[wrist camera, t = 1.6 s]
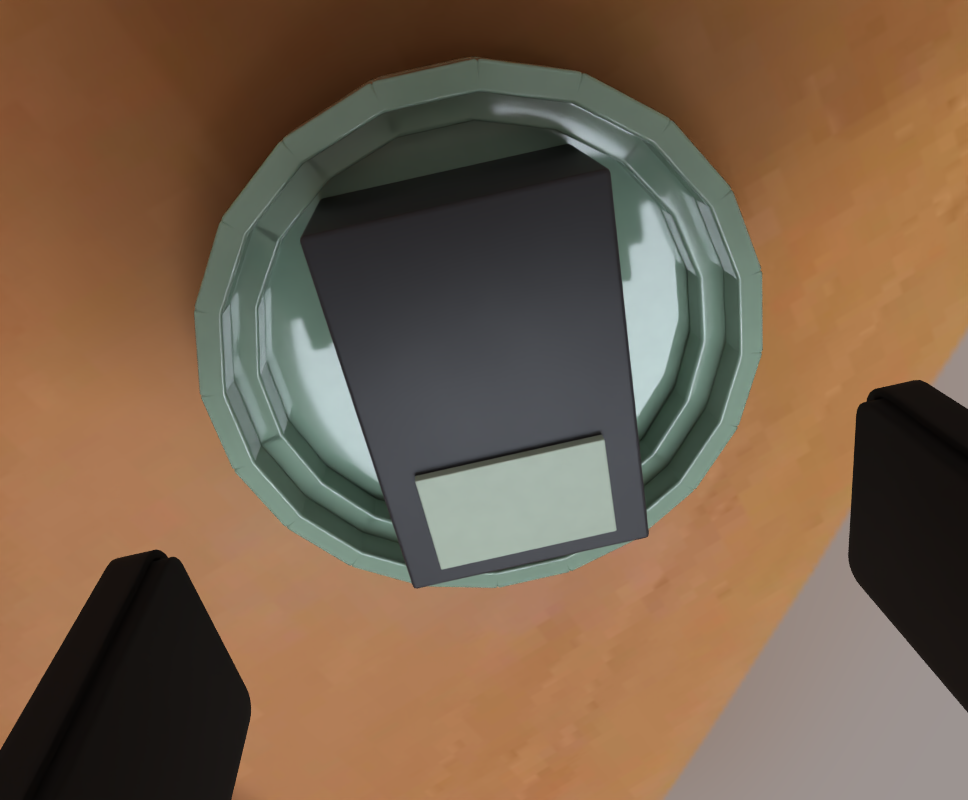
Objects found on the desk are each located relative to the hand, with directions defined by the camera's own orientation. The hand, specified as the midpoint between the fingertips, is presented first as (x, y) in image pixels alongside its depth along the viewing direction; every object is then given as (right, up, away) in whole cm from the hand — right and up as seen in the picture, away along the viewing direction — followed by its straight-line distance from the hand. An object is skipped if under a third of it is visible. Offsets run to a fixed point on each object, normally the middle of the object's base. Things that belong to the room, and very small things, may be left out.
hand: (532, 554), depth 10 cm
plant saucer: (-1, +4, +6) cm, 7 cm away
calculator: (-1, +3, +6) cm, 7 cm away
